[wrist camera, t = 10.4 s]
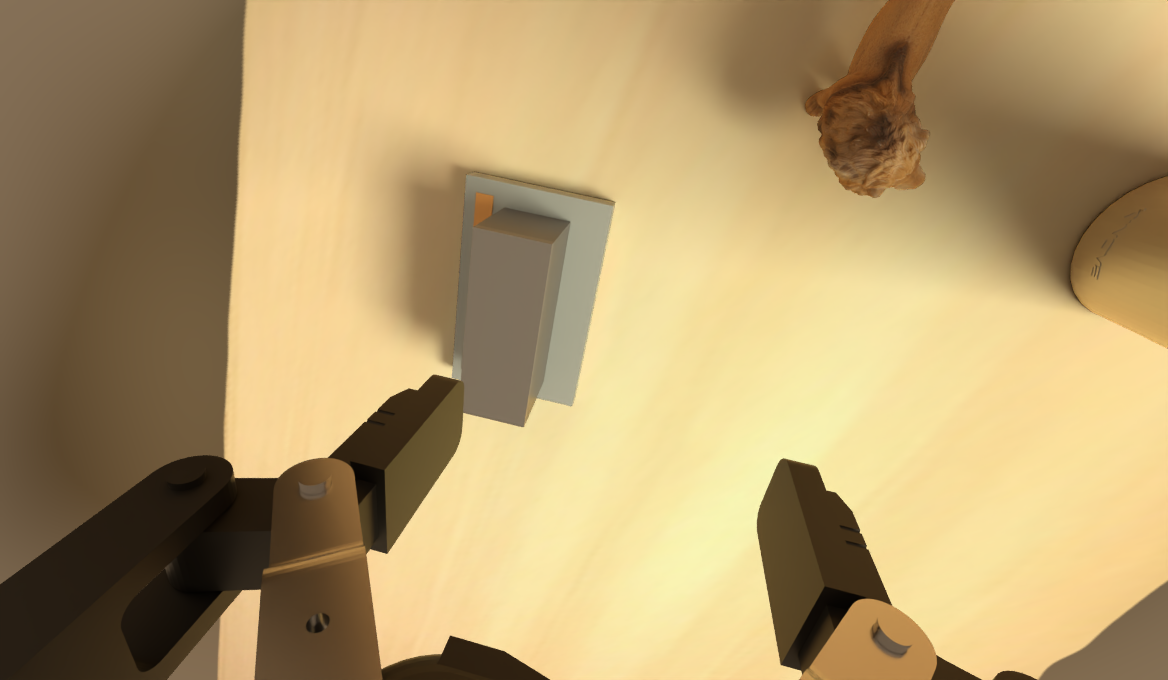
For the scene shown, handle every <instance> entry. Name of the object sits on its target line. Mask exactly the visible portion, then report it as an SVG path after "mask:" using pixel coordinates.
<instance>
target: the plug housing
mask: <svg viewBox="0 0 1168 680" xmlns="http://www.w3.org/2000/svg"><path fill="white" fill-rule="evenodd" d="M570 223H571V222H569V221H565V220H560V219H556V218H551V217H546V216H542V215H537V214H533V213H528V212H523V211H519V210H514V209H510V208H505V207H504V208H503V209H501V210H499V211H498V212H496V213H495V214H493V215H491V216H490V217H488V218H487V219H485V220H483V221H482V222H480V223H479V224H477V225H475V226H474V227H473V234H472V246H471V259H470V271H469V284H468V296H467V309H466V321H465V334H464V346H463V359H462V371H461V381H463V383H464V405H463V413H466V414H471V415H475V416H479V417H483V418H487V419H491V420H495V421H500V422H504V423H508V424H512V425H516V426H520V427H524V426H525V423H526V421H527V419H528V416H529V414H530V412H531V410H532V407H533V405H534V403H535V400H536V398H537V396H538V394H539V391H540V389H541V387H542V385H543V382H544V377H545V371H546V365H547V359H548V353H549V347H550V341H551V335H552V329H553V323H554V317H555V312H556V306H557V300H558V294H559V288H560V282H561V276H562V270H563V264H564V258H565V252H566V247H567V241H568V235H569V229H570Z"/></svg>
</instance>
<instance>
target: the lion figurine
mask: <svg viewBox="0 0 1168 680" xmlns="http://www.w3.org/2000/svg"><path fill="white" fill-rule="evenodd" d="M954 1H955V0H889V1H888V2H887V3H886V4H885V5H884V7H883V8H882V9H881V10H880V11H879V13H878V14H877V15H876V17H875V18H874V19H873V21H872V23H871V24H870V26H869V27H868V29H867V31H866V33H865V35H864V37H863V39H862V41H861V43H860V44H859V47H858V49H857V51H856V53H855V55H854V58H853V60H852V62H851V65H850V68H849V72H848V75H847V76H845V77H844V78H842V79H840V80H839V81H837V82H836V83H835V84H834V85H832V86H831V87H829V88H827V89H824V90H821V91H819V92H817V93H816V94H814V95H813V96H811V97H810V98H809V99H808V100H807V102H806V104H805V106H806V111H807V113H808V114H809V115H811V116H818V117H819V116H820V115H821V114H822V115H821V118H820V119H819V121H818V123H817V125H818V130H819V131H820V133H821V134H822V135H821V137H820V139H819V144H820V147H821V148H822V150H823V153H824V156H825V157H826V158H827V160H828V165H829V167H830V168H831V169H833V170H834V171H835V175H836V176H837V177H838V178H839V183H841V184H842V186H844V188H845V189H846V190H851V191H852V192H854V193H857V194H858V195H868V196H871V197H873V198H877V197H879V196H880V195H881V194H882V193H883V192H884V190H885V189H886V188H890V187H894V188H895V189H898V190H906V189H915V188H917V187H919V186H920V185H921V184H923V182H924V181H925V173H924V172H923V171H922V168H921V166H920V165H919V162H920V158H921V156H920V152H921V151H922V150H923V149H924V148H925V147H926V144H927V140H928V139H929V135H930V132H929V131H928V130H922V129H921V123H920V119H919V118H918V117H917V116H916V113H915V105H914V100H915V95H914V94H913V92H912V83H911V82H912V80H913V78H914V77H915V75H916V73H917V72H918V70H919V69H920V67H921V66H922V64H923V62H924V61H925V59H926V57H927V55H928V53H929V51H930V49H931V47H932V45H933V43H934V41H935V39H936V37H937V34H938V32H939V29H940V27H941V24H942V22H943V20H944V18H945V16H946V14H947V12H948V10H949V8H950V7H951V5H952V3H953V2H954Z"/></svg>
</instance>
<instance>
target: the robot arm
mask: <svg viewBox="0 0 1168 680" xmlns="http://www.w3.org/2000/svg"><path fill="white" fill-rule="evenodd" d="M1071 283H1072V287H1073V290H1074V293H1075V295H1076V296H1077V298H1078V299H1079V301H1080V302H1081V303H1082V304H1083V305H1084V306H1085V307H1087V308H1088V309H1089V310H1090V311H1091V312H1093V313H1096V314H1098V315H1100V316H1102V317H1104V318H1106V319H1108V320H1110V321H1112V322H1114V323H1116V324H1118V325H1120V326H1122V327H1124V328H1127V329H1129V330H1131V331H1133V332H1135V333H1137V334H1139V335H1141V336H1143V337H1145V338H1147V339H1149V340H1151V341H1153V342H1155V343H1157V344H1159V345H1161V346H1163V347H1165V348H1167V349H1168V176H1166V177H1163V178H1160V179H1157V180H1155V181H1152V182H1149V183H1147V184H1145V185H1143V186H1141V187H1139V188H1137V189H1135V190H1133V191H1131V192H1129V193H1127V194H1126V195H1124V196H1123V197H1122V198H1120V199H1119V200H1117V201H1116V202H1114V203H1113V204H1112V205H1110V206H1109V207H1108V208H1107V209H1106V210H1105V211H1104V212H1103V213H1102V214H1101V215H1099V216H1098V217H1097V218H1096V219H1095V220H1094V222H1093V223H1092V224H1091V225H1090V227H1089V228H1088V229H1087V231H1086V232H1085V233H1084V234H1083V236H1082V238H1081V240H1080V242H1079V244H1078V246H1077V248H1076V250H1075V252H1074V256H1073V260H1072V263H1071ZM463 405H464V383H463V381H460V380H456V379H451V378H447V377H443V376H439V375H432V376H431V377H430V378H429V379H428V380H427V381H426V382H425V383H424V384H423V385H422V386H421V387H420V388H419V390H418V391H417V390H413V389H407V390H405V391H402V392H400V393H398V394H396V395H394V396H392V397H390V398H389V399H388V400H387V401H386V402H385V403H384V404H383V405H382V406H381V407H380V408H379V409H378V411H377V412H375V413H374V414H372V415H371V416H370V417H369V418H368V419H367V422H364V423H363V424H362V425H361V426H360V427H359V428H358V429H357V430H356V431H355V432H354V433H353V434H352V435H351V436H350V437H349V438H348V439H347V440H346V441H345V442H344V443H343V444H342V445H341V446H339V447H338V448H337V449H336V450H335V451H334V452H333V453H332V454H331V455H330V456H329V457H328V458H317V459H311V460H307V461H304V462H301V463H299V464H296V465H294V466H293V467H291V468H289V469H288V470H286V471H285V472H284V473H283V474H282V475H281V476H280V477H279V478H235V477H234V472H233V468H232V465H231V464H230V462H228V461H227V460H225V459H223V458H221V457H217V456H208V455H203V456H193V457H188V458H184V459H180V460H177V461H174V462H171V463H169V464H167V465H165V466H163V467H161V468H159V469H158V470H156V471H154V472H153V473H151V474H150V475H149V476H147V477H146V478H145V479H143V480H142V481H141V482H139V483H138V484H136V485H135V486H134V487H132V488H131V489H130V490H128V491H127V492H126V493H124V494H123V495H121V496H120V497H119V498H117V499H116V500H115V501H113V502H112V503H111V504H109V505H108V506H106V507H105V508H104V509H102V510H101V511H100V512H98V513H97V514H96V515H94V516H93V517H92V518H90V519H89V520H87V521H86V522H85V523H83V524H82V525H81V526H79V527H78V528H77V529H75V530H74V531H72V532H71V533H70V534H68V535H67V536H66V537H64V538H63V539H62V540H61V541H59V542H58V543H56V544H55V545H53V546H52V547H51V548H49V549H48V550H47V551H45V552H44V553H42V554H41V555H40V556H38V557H37V558H36V559H34V560H33V561H32V562H30V563H29V564H27V565H26V566H25V567H23V568H22V569H21V570H19V571H18V572H17V573H15V574H14V575H13V576H11V577H10V578H8V579H7V580H6V581H4V582H3V583H2V584H0V680H167V679H168V678H169V676H170V675H171V674H172V673H173V672H174V670H175V669H176V668H177V667H178V666H179V664H180V663H181V662H182V661H183V660H184V659H185V657H186V656H187V655H188V654H189V653H190V651H191V650H192V649H193V648H194V647H195V646H196V644H197V643H198V642H199V641H200V640H201V638H202V637H203V636H204V635H205V634H206V633H207V631H208V630H209V629H210V628H211V627H212V625H213V624H214V623H215V622H216V621H217V619H218V618H219V617H220V616H221V615H222V614H223V612H224V611H225V610H226V609H227V608H228V606H229V605H230V604H231V603H232V602H233V601H234V599H235V598H236V597H237V596H238V595H239V593H240V592H241V591H242V590H259V589H261V596H260V610H259V624H258V638H257V652H256V665H255V679H254V680H550V679H548V678H546V677H545V676H543V675H542V674H540V673H538V672H537V671H535V670H534V669H532V668H530V667H529V666H527V665H526V664H524V663H522V662H521V661H519V660H518V659H516V658H514V657H513V656H511V655H509V654H508V653H506V652H505V651H501V650H498V649H495V648H491V647H488V646H484V645H481V644H477V643H474V642H470V641H467V640H464V639H460V638H457V637H453V636H450V637H449V639H448V642H447V644H446V646H445V648H444V651H443V653H442V654H434V655H425V656H418V657H414V658H410V659H406V660H403V661H400V662H397V663H395V664H392V665H389V666H387V667H385V668H383V669H381V664H380V656H379V649H378V641H377V633H376V626H375V618H374V610H373V603H372V595H371V587H370V580H369V572H368V564H367V557H366V554H367V553H368V551H369V550H370V549H372V550H375V551H379V552H382V553H386V554H387V553H388V552H389V551H390V549H391V548H392V546H393V545H394V543H395V542H396V540H397V539H398V537H399V536H400V534H401V533H402V531H403V530H404V528H405V527H406V525H407V524H408V522H409V521H410V519H411V518H412V516H413V515H414V513H415V512H416V510H417V509H418V507H419V506H420V504H421V503H422V501H423V500H424V498H425V497H426V495H427V494H428V492H429V491H430V489H431V488H432V486H433V485H434V484H435V482H436V481H437V479H438V478H439V476H440V475H441V473H442V472H443V470H444V469H445V467H446V466H447V464H448V463H449V461H450V460H451V458H452V457H453V455H454V454H455V452H456V450H457V447H458V445H459V442H460V438H461V434H462V422H463ZM757 534H758V539H759V545H760V550H761V556H762V562H763V567H764V573H765V579H766V584H767V590H768V596H769V601H770V607H771V613H772V618H773V624H774V630H775V635H776V641H777V646H778V652H779V658H780V663H781V665H783V666H786V667H790V668H794V669H797V670H801V671H802V676H801V678H800V679H799V680H981V679H979V678H978V677H976V676H974V675H972V674H970V673H968V672H966V671H964V670H962V669H961V668H959V667H957V666H955V665H953V664H951V663H949V662H947V661H945V660H944V659H942V658H940V657H939V656H937V655H936V653H935V650H934V648H933V645H932V643H931V642H930V640H929V638H928V637H927V636H926V634H925V633H924V632H923V630H922V629H921V628H920V627H919V626H918V625H917V624H916V623H915V622H914V621H913V620H912V619H911V618H909V617H908V616H907V615H906V614H904V613H903V612H901V611H900V610H898V609H897V608H895V607H893V606H892V604H891V602H890V599H889V597H888V595H887V592H886V590H885V588H884V585H883V583H882V581H881V578H880V576H879V573H878V571H877V569H876V566H875V564H874V562H873V559H872V557H871V555H870V552H869V550H867V549H866V546H867V545H866V543H865V541H864V538H863V536H862V534H860V529H859V526H858V524H857V522H856V519H855V517H854V515H853V512H852V511H851V509H850V508H849V507H848V506H847V505H846V504H845V503H844V501H843V500H842V499H841V498H840V497H839V496H838V495H837V493H834V492H830V491H826V489H825V486H824V483H823V481H822V478H821V475H820V473H819V470H818V468H817V467H816V466H813V465H809V464H805V463H801V462H796V461H792V460H788V459H781V460H780V461H779V463H778V465H777V467H776V469H775V472H774V474H773V476H772V479H771V481H770V484H769V486H768V488H767V491H766V493H765V495H764V498H763V500H762V502H761V505H760V508H759V512H758V517H757ZM150 581H151V582H150ZM149 582H150V583H149ZM148 583H149V584H148ZM147 584H148V585H147ZM146 585H147V586H146ZM145 586H146V587H145ZM993 680H1037V679H1035V678H1033V677H1031V676H1028V675H1025V674H1023V673H1019V672H1015V671H1003V672H1000V673H998V674H997V675H996V676H995V678H994V679H993Z"/></svg>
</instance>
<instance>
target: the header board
mask: <svg viewBox="0 0 1168 680" xmlns="http://www.w3.org/2000/svg"><path fill="white" fill-rule="evenodd" d="M504 207H505V208H510V209H514V210H519V211H523V212H528V213H533V214H537V215H542V216H546V217H551V218H556V219H560V220H565V221H569V222H571V223H570V229H569V235H568V241H567V247H566V252H565V258H564V264H563V270H562V276H561V282H560V288H559V294H558V300H557V306H556V312H555V317H554V323H553V329H552V335H551V341H550V347H549V353H548V359H547V365H546V371H545V377H544V382H543V385H542V387H541V389H540V391H539V394H538V396H537V398H539V399H543V400H547V401H551V402H555V403H560V404H564V405H568V406H572V405H573V402H574V399H575V395H576V390H577V386H578V381H579V376H580V371H581V366H582V361H583V357H584V352H585V347H586V342H587V337H588V332H589V328H590V323H591V318H592V313H593V308H594V303H595V299H596V294H597V289H598V284H599V279H600V274H601V270H602V265H603V260H604V255H605V250H606V245H607V241H608V236H609V231H610V226H611V221H612V216H613V212H614V207H615V202H612V201H607V200H603V199H598V198H593V197H589V196H584V195H580V194H575V193H570V192H566V191H561V190H556V189H552V188H547V187H542V186H538V185H533V184H528V183H524V182H519V181H514V180H510V179H505V178H501V177H496V176H491V175H487V174H482V173H477V172H472V173H469V174H466V186H465V200H464V214H463V228H462V243H461V257H460V271H459V285H458V299H457V313H456V328H455V342H454V356H453V370H452V378H455V379H459V380H461V371H462V359H463V346H464V334H465V321H466V309H467V296H468V284H469V271H470V259H471V246H472V234H473V227H474V226H475V225H477V224H479V223H480V222H482V221H483V220H485V219H487V218H488V217H490V216H491V215H493V214H495V213H496V212H498V211H499V210H501V209H503V208H504Z"/></svg>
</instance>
